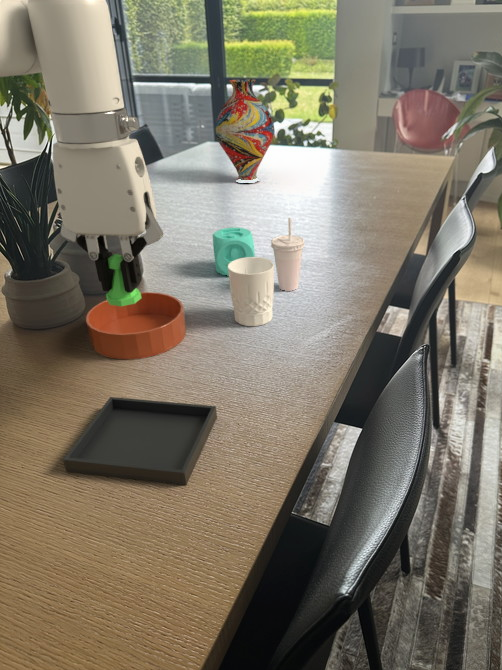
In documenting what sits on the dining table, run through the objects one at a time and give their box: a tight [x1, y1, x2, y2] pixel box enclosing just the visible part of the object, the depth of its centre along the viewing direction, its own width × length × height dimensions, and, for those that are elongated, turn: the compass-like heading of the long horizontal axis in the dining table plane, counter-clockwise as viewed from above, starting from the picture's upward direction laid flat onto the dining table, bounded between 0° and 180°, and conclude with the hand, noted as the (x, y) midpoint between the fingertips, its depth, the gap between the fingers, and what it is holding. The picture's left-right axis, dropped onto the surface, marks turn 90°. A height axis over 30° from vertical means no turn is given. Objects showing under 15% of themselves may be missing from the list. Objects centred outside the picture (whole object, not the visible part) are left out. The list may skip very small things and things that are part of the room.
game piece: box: [105, 253, 141, 306], centre depth 68 cm, size 4×4×6 cm
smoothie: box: [270, 217, 305, 292], centre depth 106 cm, size 6×6×14 cm
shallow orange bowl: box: [85, 291, 187, 360], centre depth 93 cm, size 16×16×4 cm
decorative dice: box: [212, 227, 256, 277], centre depth 116 cm, size 8×8×8 cm
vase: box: [215, 78, 275, 180], centre depth 176 cm, size 19×19×30 cm
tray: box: [62, 396, 218, 486], centre depth 69 cm, size 15×13×2 cm
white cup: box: [228, 256, 275, 327], centre depth 96 cm, size 8×8×10 cm
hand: (121, 286), depth 69 cm, fingers closed on game piece, 2 cm apart
